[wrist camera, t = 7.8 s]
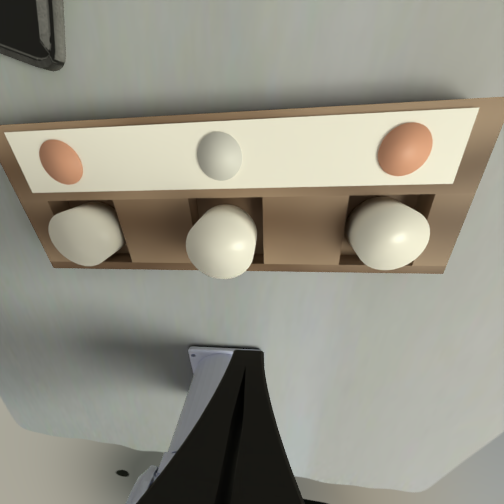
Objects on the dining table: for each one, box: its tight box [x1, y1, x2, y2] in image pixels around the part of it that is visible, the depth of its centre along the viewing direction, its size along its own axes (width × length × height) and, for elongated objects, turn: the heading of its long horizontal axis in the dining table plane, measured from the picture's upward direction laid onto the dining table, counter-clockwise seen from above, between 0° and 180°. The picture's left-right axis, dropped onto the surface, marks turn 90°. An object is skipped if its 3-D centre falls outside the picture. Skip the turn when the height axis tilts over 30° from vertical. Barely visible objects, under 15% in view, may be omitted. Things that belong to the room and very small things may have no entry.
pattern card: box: [4, 107, 480, 193], centre depth 13 cm, size 4×26×1 cm, turn 92°
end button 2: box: [345, 197, 430, 270], centre depth 15 cm, size 4×4×2 cm
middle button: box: [186, 204, 257, 279], centre depth 14 cm, size 4×4×2 cm
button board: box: [0, 97, 504, 274], centre depth 16 cm, size 10×29×2 cm, turn 92°
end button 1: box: [48, 202, 126, 266], centre depth 17 cm, size 4×4×2 cm
